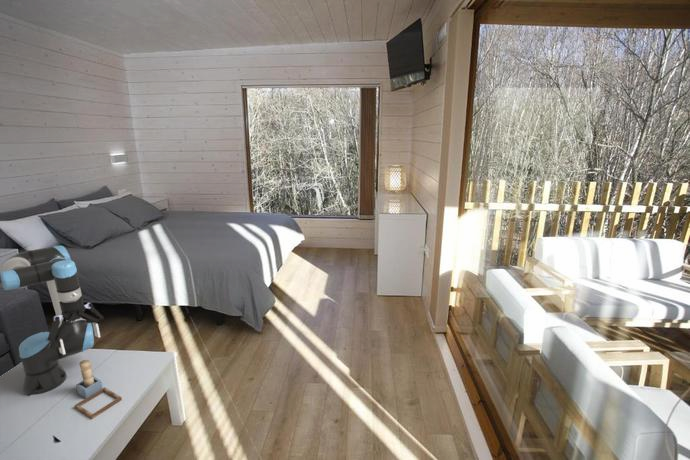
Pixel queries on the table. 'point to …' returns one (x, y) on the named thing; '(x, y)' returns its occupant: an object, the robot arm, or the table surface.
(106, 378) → the table surface
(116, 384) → the table surface
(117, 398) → the brown wooden frame
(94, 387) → the blue grey open box
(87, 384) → the pestle
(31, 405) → the table surface
